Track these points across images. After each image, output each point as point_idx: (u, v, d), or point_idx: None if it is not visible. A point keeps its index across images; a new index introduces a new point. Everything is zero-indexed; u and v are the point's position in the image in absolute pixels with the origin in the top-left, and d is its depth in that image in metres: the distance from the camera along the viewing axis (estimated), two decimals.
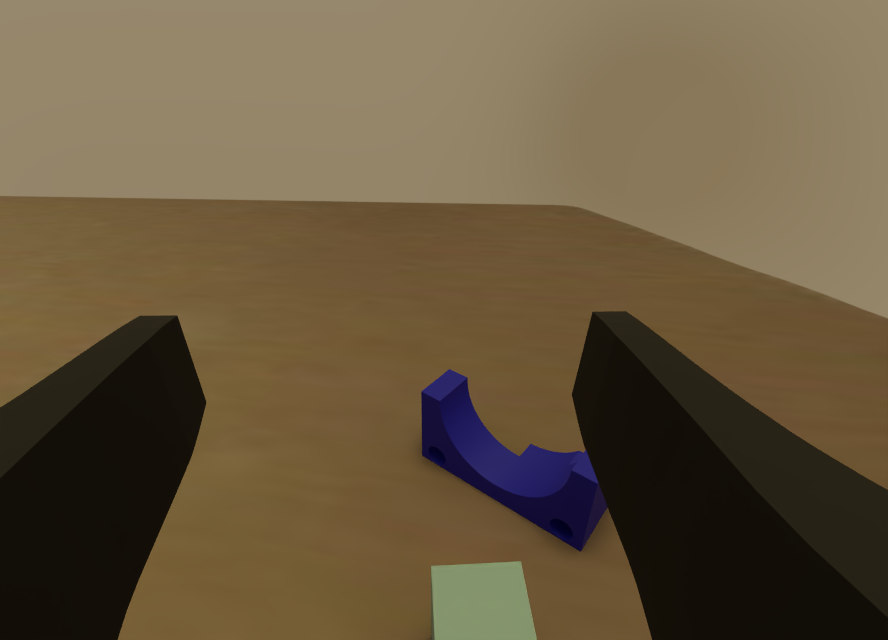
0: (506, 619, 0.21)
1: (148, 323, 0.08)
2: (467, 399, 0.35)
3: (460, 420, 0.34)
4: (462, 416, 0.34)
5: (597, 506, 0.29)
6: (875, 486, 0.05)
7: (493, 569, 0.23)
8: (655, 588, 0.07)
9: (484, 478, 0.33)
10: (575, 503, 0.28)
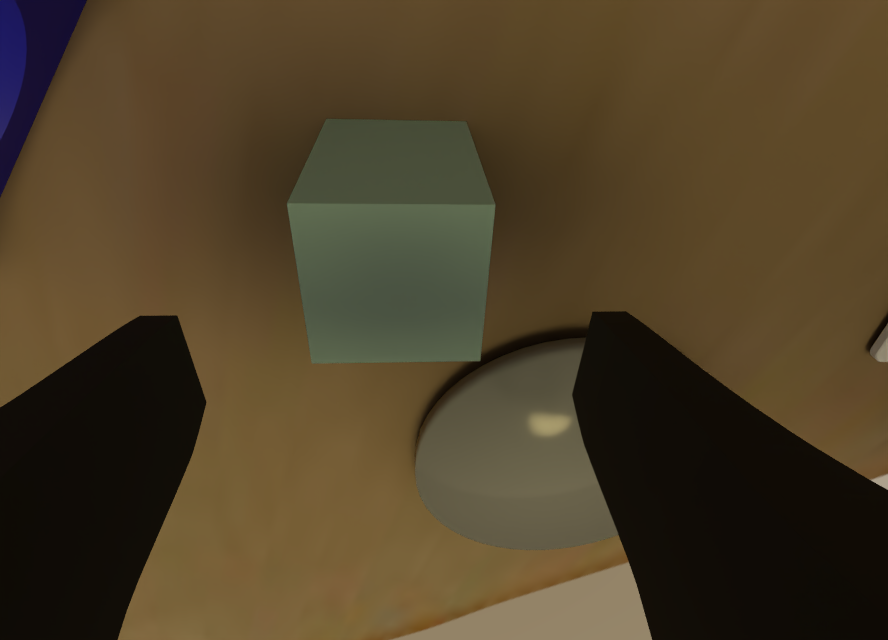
0: (416, 253, 0.10)
1: (148, 323, 0.08)
2: None
3: None
4: None
5: None
6: (875, 486, 0.05)
7: (310, 262, 0.10)
8: (655, 588, 0.07)
9: None
10: None
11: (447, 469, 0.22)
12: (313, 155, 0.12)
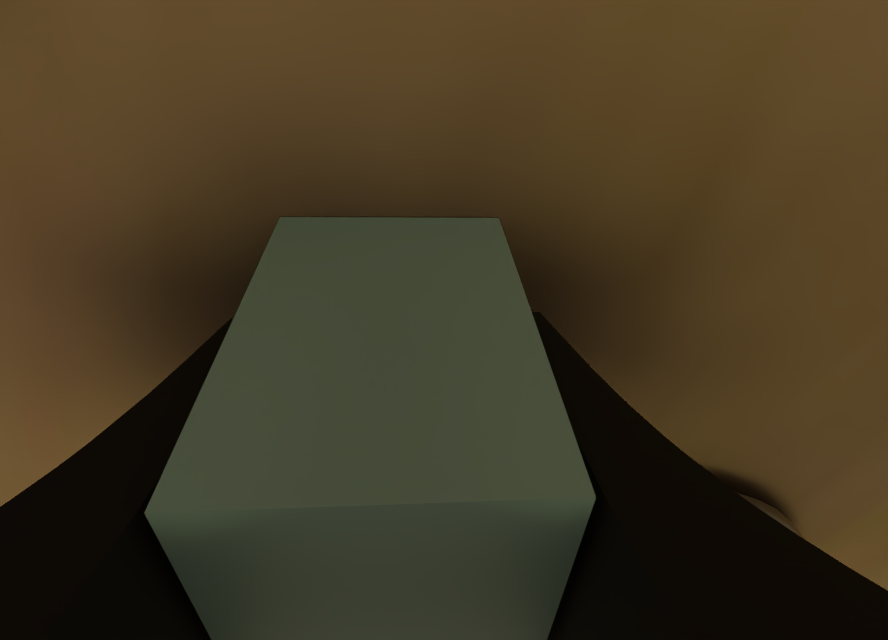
0: (428, 565, 0.05)
1: None
2: None
3: None
4: None
5: None
6: (727, 491, 0.05)
7: (213, 585, 0.05)
8: None
9: None
10: None
11: None
12: (239, 322, 0.07)
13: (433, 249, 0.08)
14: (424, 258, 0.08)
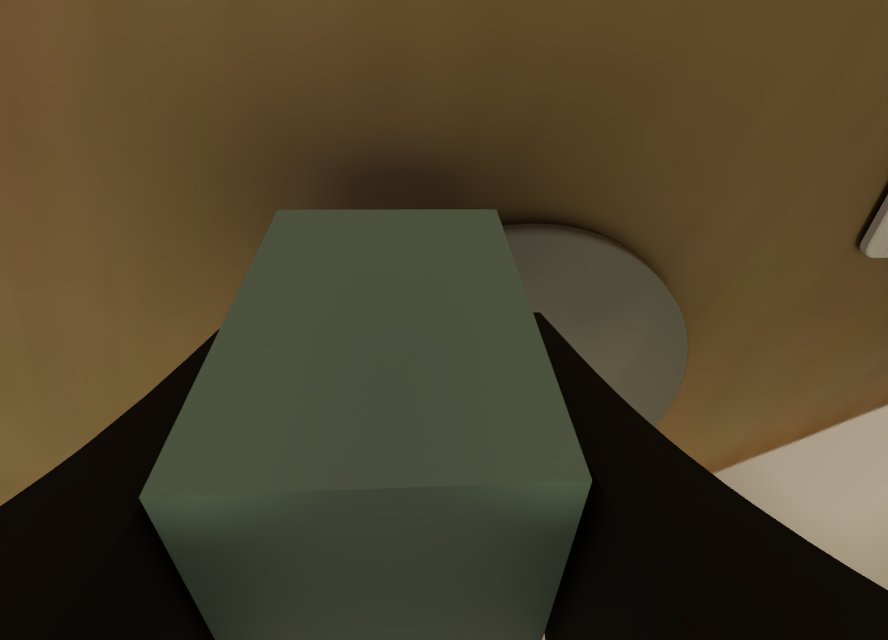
0: (424, 551, 0.05)
1: None
2: None
3: None
4: None
5: None
6: (728, 491, 0.05)
7: (209, 572, 0.05)
8: None
9: None
10: None
11: None
12: (236, 311, 0.07)
13: (430, 240, 0.08)
14: (421, 249, 0.08)
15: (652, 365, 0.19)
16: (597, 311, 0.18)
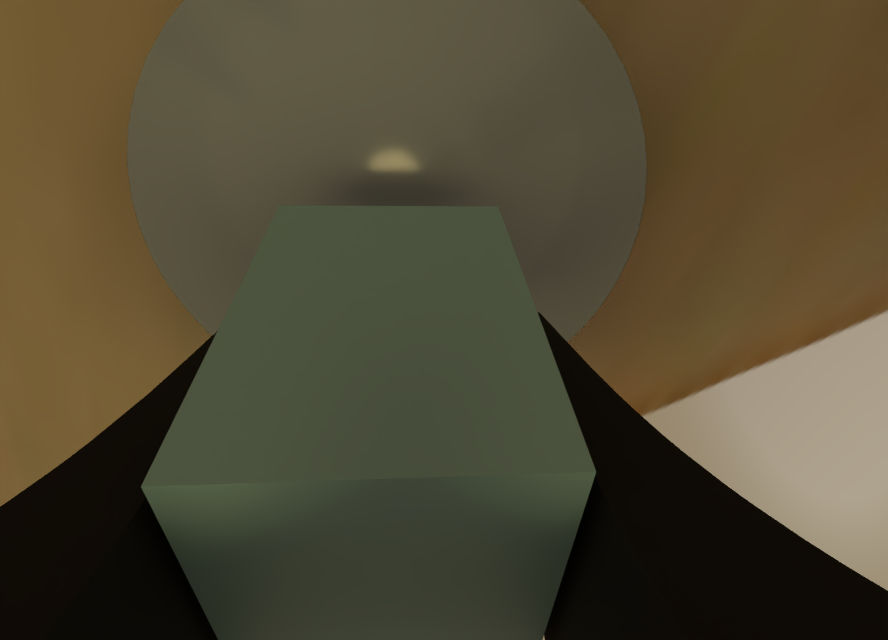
0: (427, 543, 0.05)
1: None
2: None
3: None
4: None
5: None
6: (728, 491, 0.05)
7: (211, 564, 0.05)
8: None
9: None
10: None
11: (194, 224, 0.13)
12: (238, 304, 0.07)
13: (432, 236, 0.08)
14: (423, 244, 0.08)
15: (595, 192, 0.13)
16: (505, 82, 0.11)
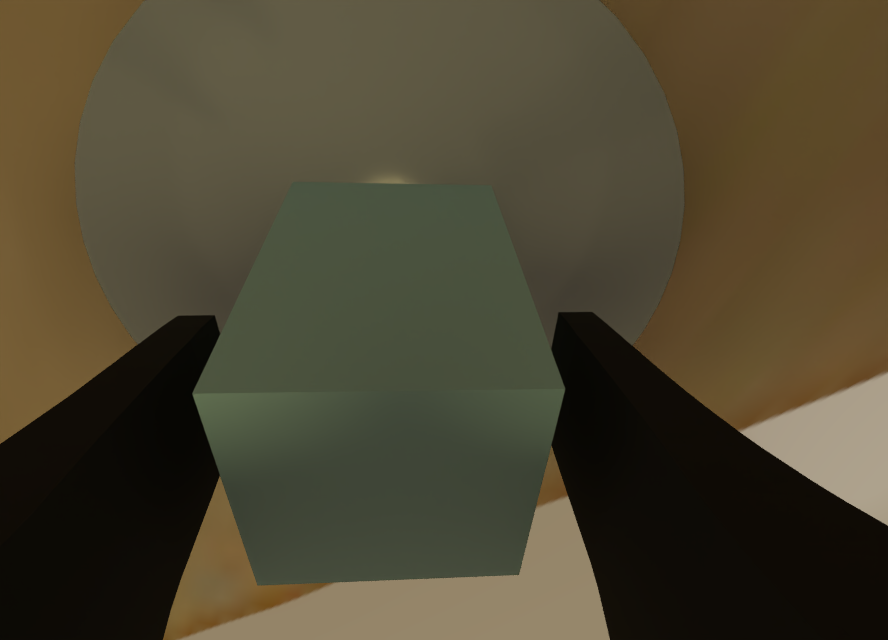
0: (425, 454, 0.06)
1: (187, 323, 0.08)
2: None
3: None
4: None
5: None
6: (817, 488, 0.05)
7: (243, 470, 0.06)
8: (612, 590, 0.07)
9: None
10: None
11: (158, 270, 0.11)
12: (261, 262, 0.08)
13: (431, 209, 0.09)
14: (423, 216, 0.09)
15: (623, 232, 0.11)
16: (521, 109, 0.10)
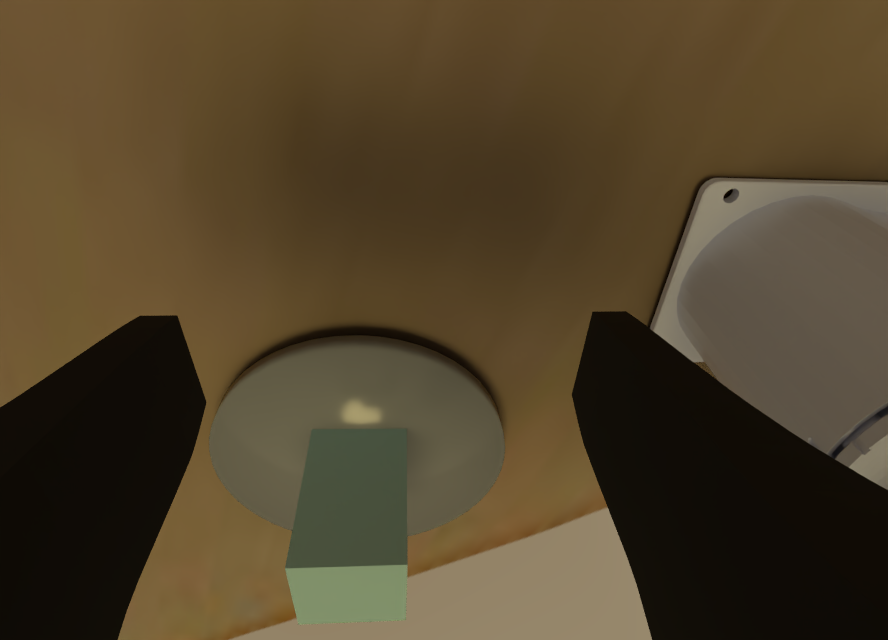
0: (362, 582, 0.18)
1: (147, 323, 0.08)
2: None
3: None
4: None
5: None
6: (875, 486, 0.05)
7: (298, 587, 0.18)
8: (655, 588, 0.07)
9: None
10: None
11: (243, 461, 0.23)
12: (302, 495, 0.19)
13: (375, 451, 0.21)
14: (371, 457, 0.21)
15: (475, 443, 0.23)
16: (417, 403, 0.21)
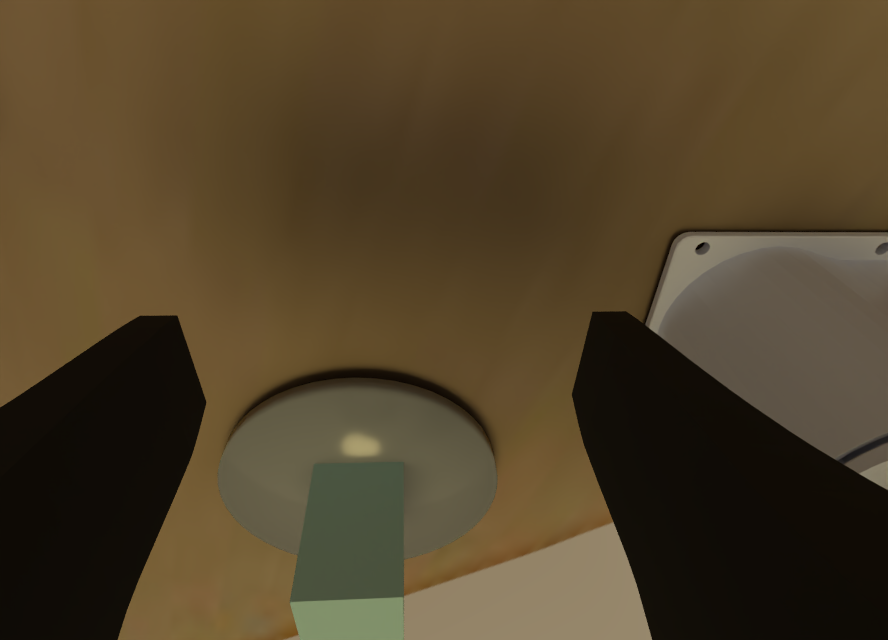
0: (361, 613, 0.19)
1: (148, 323, 0.08)
2: None
3: None
4: None
5: None
6: (875, 486, 0.05)
7: (302, 618, 0.19)
8: (655, 588, 0.07)
9: None
10: None
11: (250, 493, 0.24)
12: (305, 529, 0.20)
13: (373, 485, 0.22)
14: (369, 491, 0.22)
15: (469, 474, 0.24)
16: (413, 439, 0.22)
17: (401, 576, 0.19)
